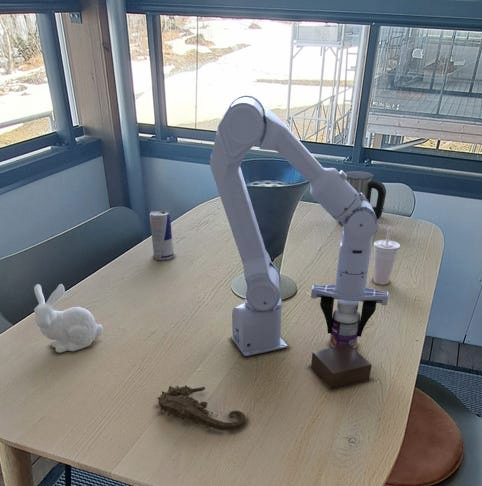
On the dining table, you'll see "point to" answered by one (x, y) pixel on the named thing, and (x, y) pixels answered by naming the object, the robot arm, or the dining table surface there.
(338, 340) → the pill bottle
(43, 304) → the rabbit
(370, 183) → the milk frother
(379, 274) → the smoothie
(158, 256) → the energy drink
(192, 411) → the seahorse
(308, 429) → the dining table surface
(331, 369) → the walnut block
